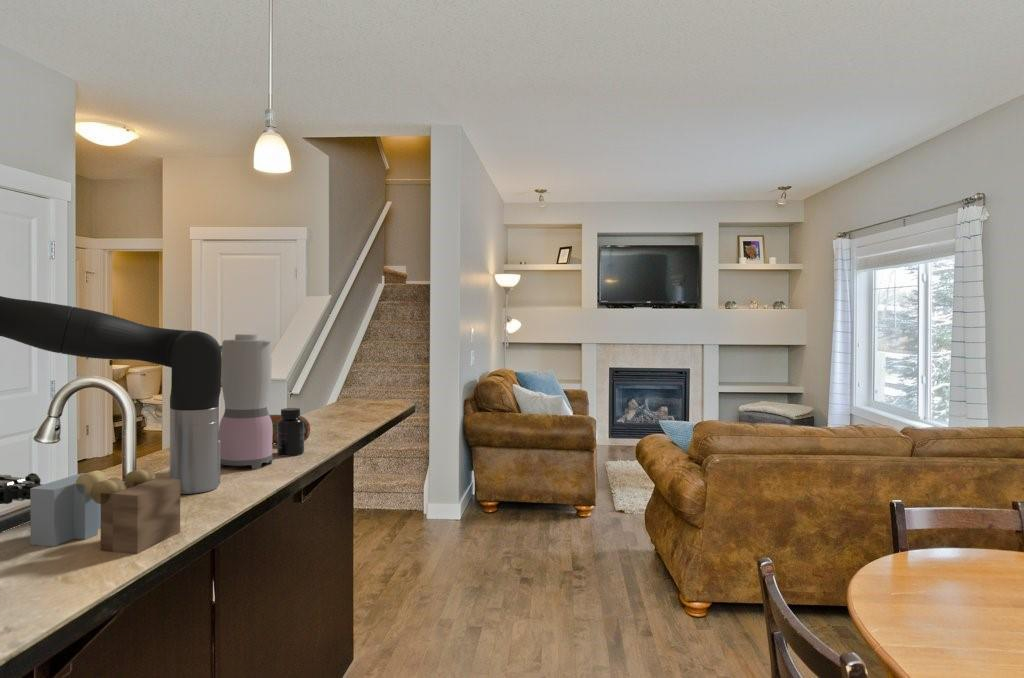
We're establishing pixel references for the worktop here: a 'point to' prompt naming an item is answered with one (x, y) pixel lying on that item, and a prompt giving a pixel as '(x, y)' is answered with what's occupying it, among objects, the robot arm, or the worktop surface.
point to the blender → (246, 401)
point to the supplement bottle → (290, 432)
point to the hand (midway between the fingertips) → (48, 492)
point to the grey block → (65, 510)
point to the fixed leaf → (137, 510)
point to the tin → (277, 417)
